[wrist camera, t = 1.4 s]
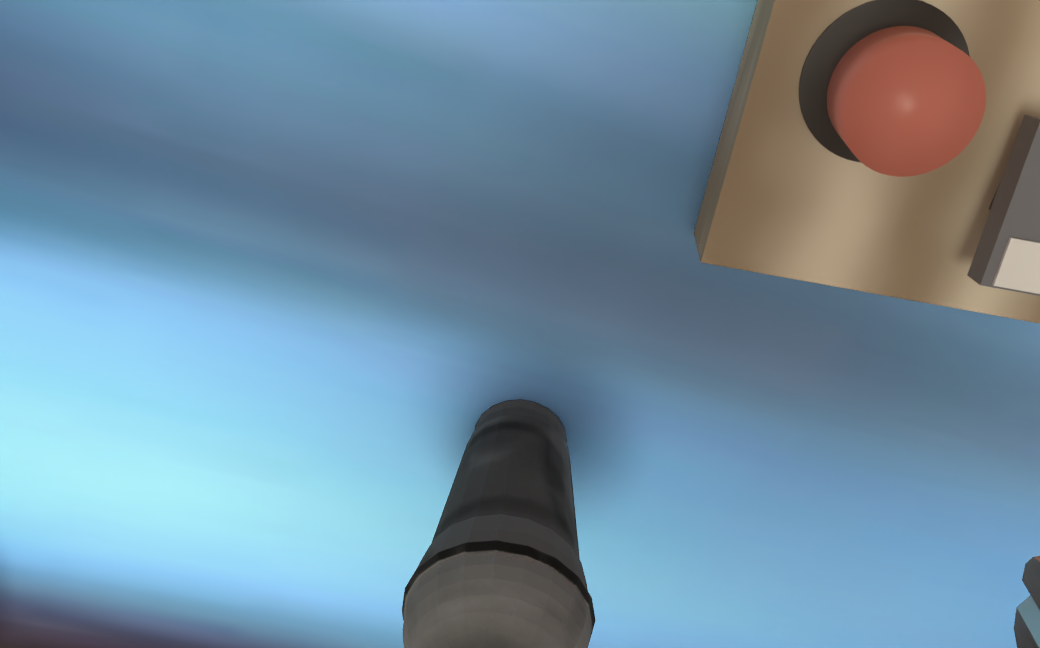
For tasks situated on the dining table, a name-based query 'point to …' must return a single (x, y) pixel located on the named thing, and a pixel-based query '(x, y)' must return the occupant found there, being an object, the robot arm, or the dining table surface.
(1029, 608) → the robot arm
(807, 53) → the control board
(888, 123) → the brick-red push button
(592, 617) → the beverage cup
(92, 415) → the dining table surface
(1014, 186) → the charcoal rocker switch
